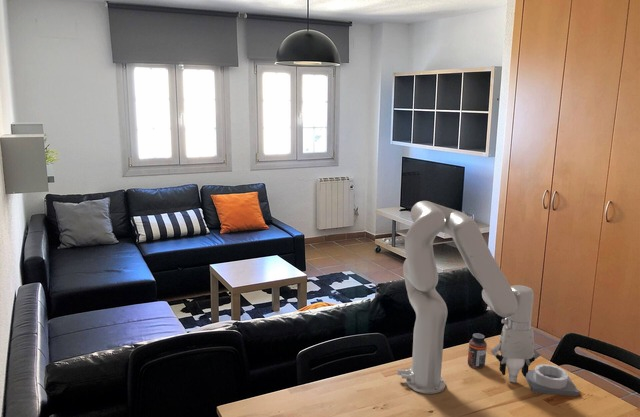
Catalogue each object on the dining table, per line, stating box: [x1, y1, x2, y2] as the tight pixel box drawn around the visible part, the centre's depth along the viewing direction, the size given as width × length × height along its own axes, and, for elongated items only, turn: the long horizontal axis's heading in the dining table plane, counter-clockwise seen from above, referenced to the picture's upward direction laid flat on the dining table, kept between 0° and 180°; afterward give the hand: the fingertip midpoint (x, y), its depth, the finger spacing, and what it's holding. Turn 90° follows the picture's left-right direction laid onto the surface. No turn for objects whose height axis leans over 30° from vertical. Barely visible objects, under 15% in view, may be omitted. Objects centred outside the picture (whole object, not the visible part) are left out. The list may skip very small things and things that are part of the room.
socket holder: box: [524, 363, 580, 397], centre depth 173 cm, size 14×12×4 cm
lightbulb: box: [505, 358, 525, 383], centre depth 173 cm, size 6×6×11 cm
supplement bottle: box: [467, 332, 488, 369], centre depth 184 cm, size 6×6×11 cm
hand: (513, 373), depth 174 cm, fingers closed on lightbulb, 6 cm apart
